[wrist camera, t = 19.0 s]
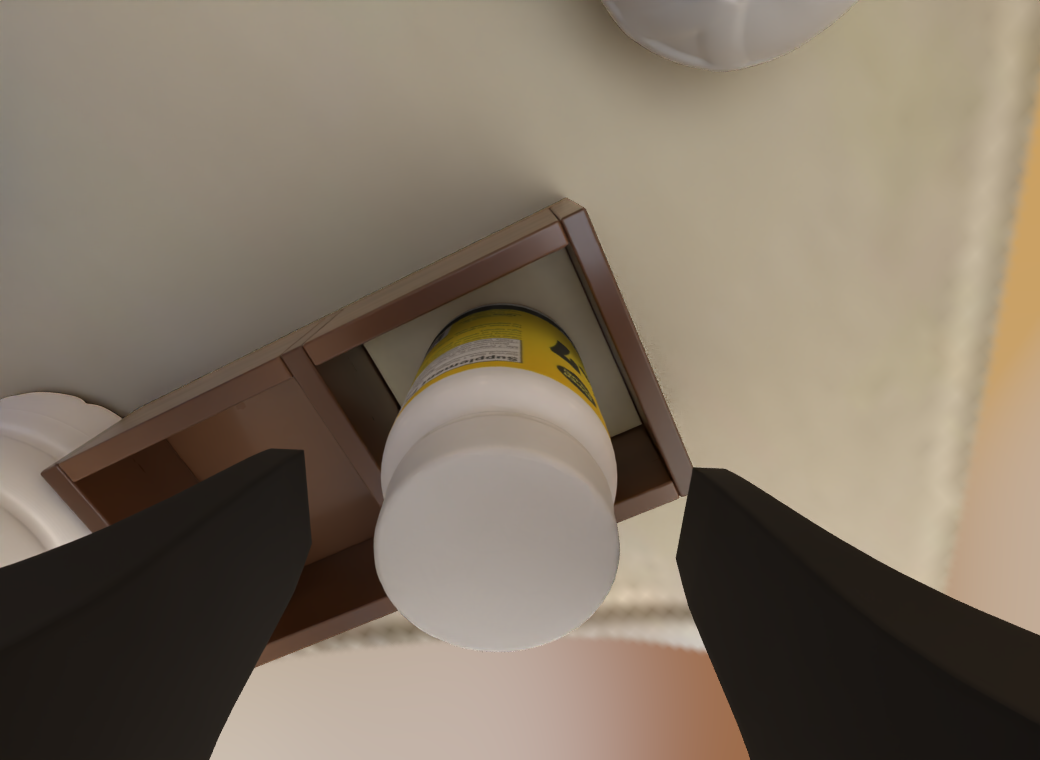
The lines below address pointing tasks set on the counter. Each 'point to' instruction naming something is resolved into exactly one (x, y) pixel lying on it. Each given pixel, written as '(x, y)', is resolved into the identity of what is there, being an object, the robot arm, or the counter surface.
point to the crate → (381, 409)
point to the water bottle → (40, 469)
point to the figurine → (724, 28)
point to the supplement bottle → (498, 487)
